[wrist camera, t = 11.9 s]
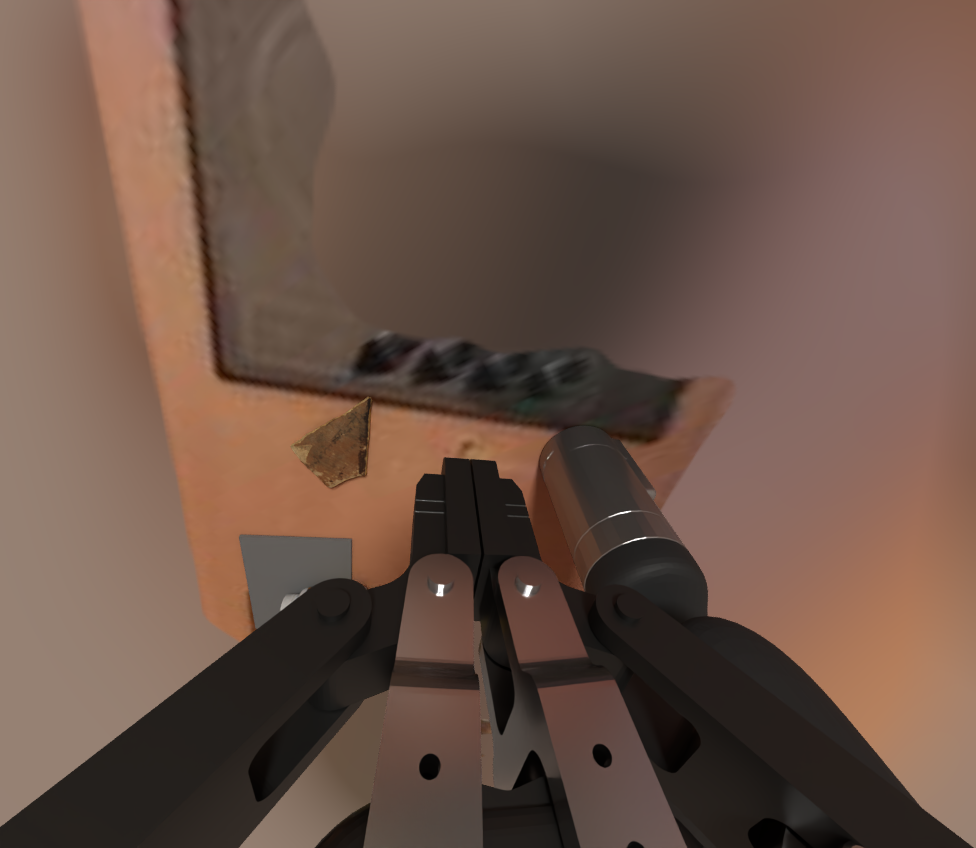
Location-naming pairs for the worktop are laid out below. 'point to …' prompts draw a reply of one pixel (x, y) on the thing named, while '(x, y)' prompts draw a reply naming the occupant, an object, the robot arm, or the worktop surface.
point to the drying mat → (290, 568)
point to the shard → (338, 446)
